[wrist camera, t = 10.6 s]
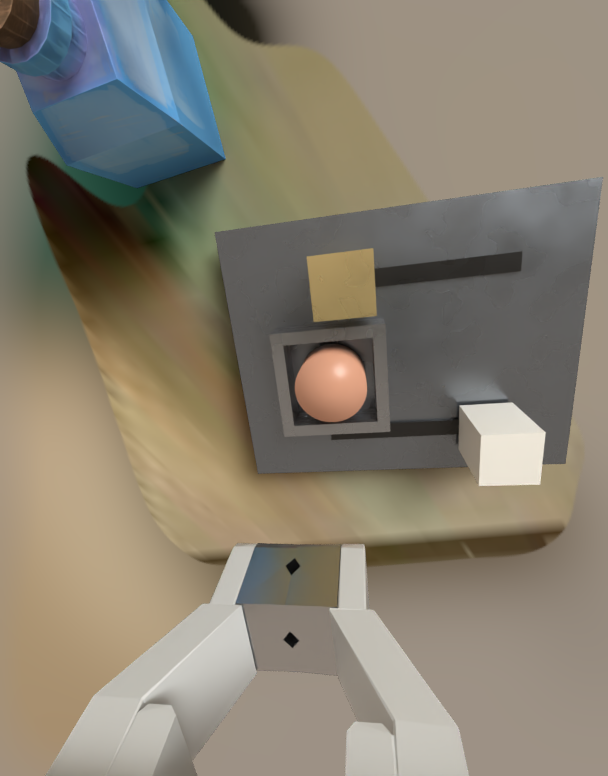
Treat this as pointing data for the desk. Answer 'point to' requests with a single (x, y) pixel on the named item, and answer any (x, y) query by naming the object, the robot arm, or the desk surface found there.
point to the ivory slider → (500, 444)
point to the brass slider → (342, 285)
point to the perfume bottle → (113, 85)
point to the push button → (331, 383)
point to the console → (417, 324)
